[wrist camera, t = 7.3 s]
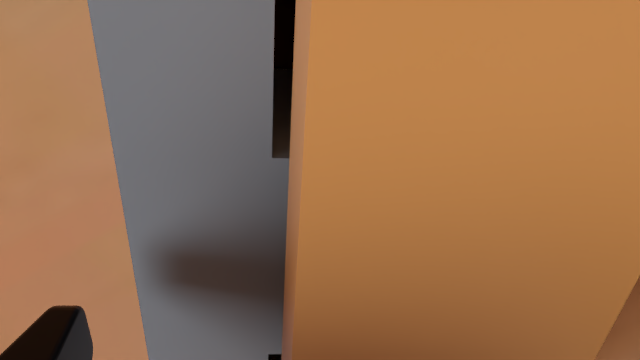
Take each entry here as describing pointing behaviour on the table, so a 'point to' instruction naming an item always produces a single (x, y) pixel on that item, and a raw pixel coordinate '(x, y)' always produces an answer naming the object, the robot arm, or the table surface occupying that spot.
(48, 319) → the robot arm
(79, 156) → the table surface
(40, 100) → the table surface
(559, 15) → the wooden arch block
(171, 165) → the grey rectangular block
